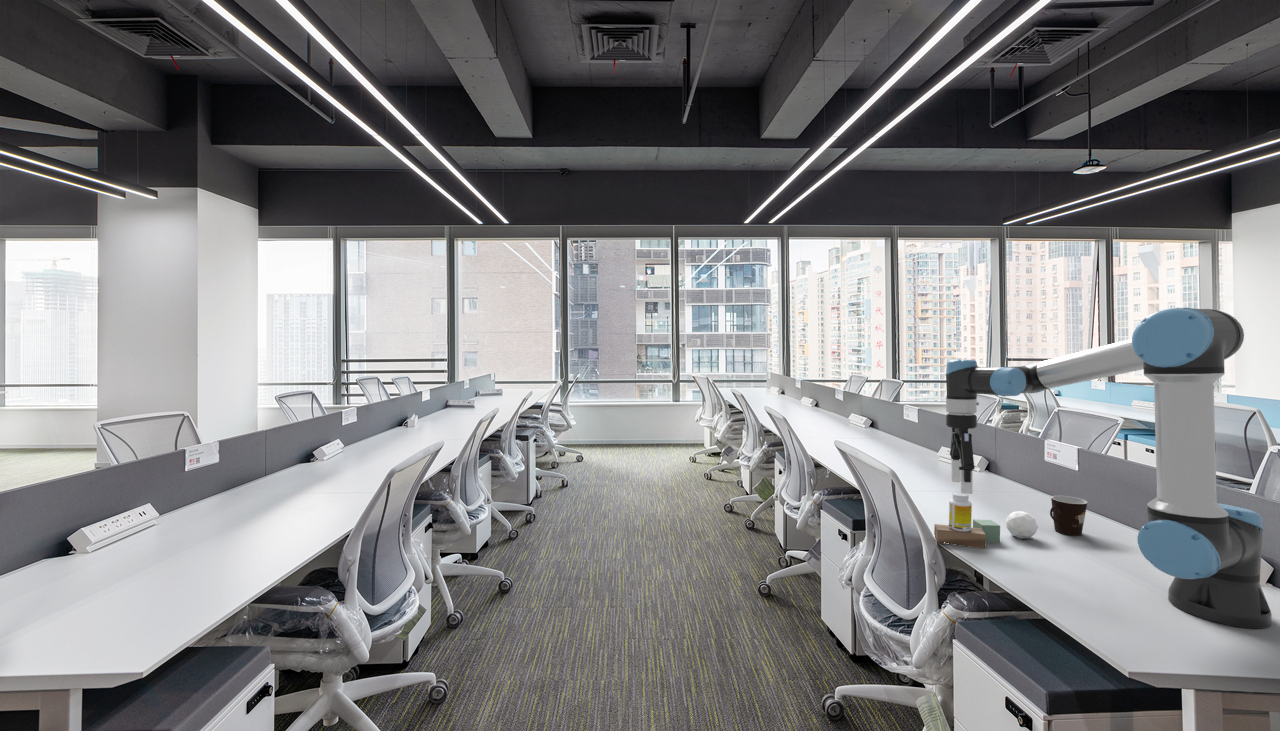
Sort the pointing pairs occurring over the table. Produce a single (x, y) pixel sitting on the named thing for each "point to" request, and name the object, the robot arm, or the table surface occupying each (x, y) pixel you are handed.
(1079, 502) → the coffee mug
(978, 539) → the walnut block
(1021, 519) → the geometric ball
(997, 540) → the green cube
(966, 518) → the supplement bottle
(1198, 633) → the table surface
